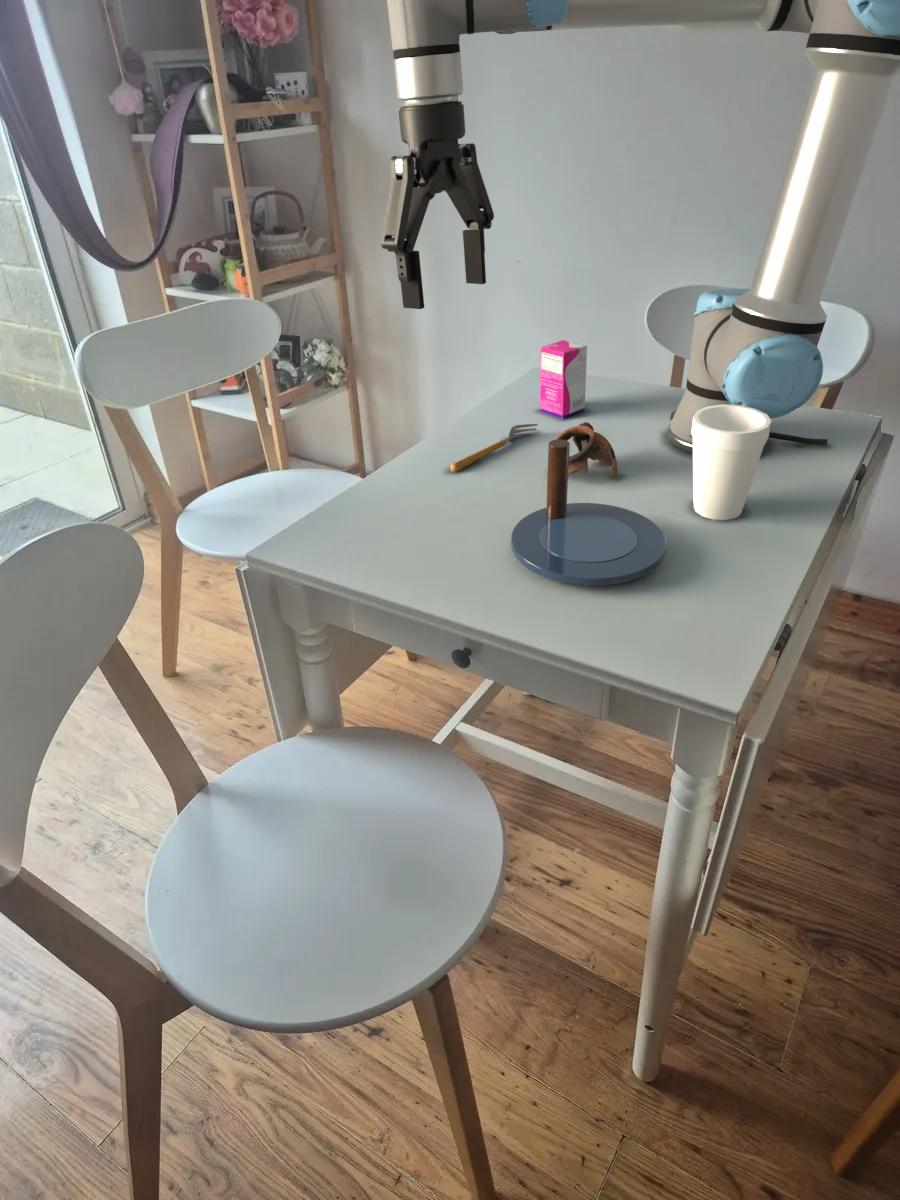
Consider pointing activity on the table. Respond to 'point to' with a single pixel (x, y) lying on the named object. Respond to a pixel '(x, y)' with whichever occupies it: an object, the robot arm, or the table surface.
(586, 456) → the broken brown clay pot
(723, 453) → the foam cup
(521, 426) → the fork
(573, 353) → the supplement box
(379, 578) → the table surface
